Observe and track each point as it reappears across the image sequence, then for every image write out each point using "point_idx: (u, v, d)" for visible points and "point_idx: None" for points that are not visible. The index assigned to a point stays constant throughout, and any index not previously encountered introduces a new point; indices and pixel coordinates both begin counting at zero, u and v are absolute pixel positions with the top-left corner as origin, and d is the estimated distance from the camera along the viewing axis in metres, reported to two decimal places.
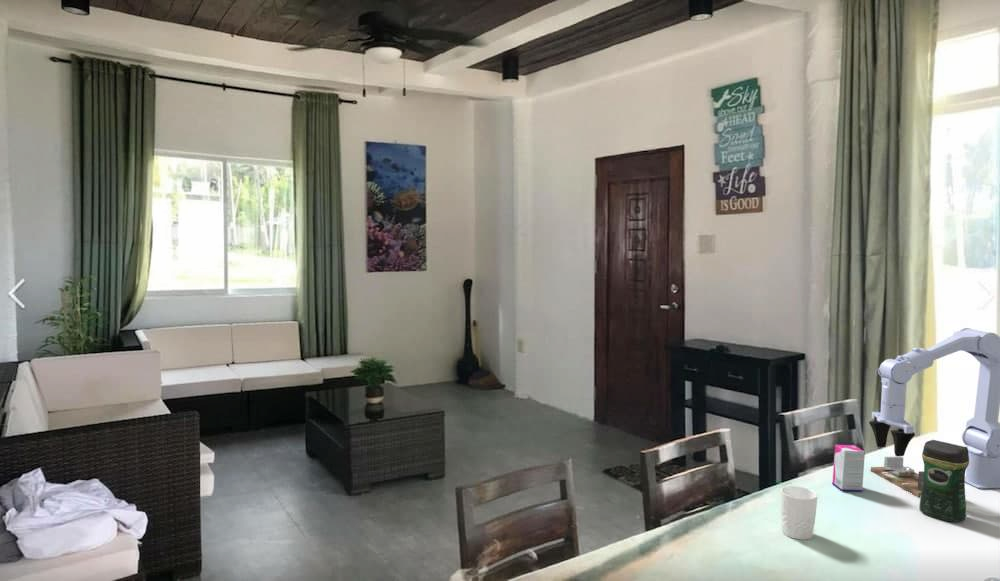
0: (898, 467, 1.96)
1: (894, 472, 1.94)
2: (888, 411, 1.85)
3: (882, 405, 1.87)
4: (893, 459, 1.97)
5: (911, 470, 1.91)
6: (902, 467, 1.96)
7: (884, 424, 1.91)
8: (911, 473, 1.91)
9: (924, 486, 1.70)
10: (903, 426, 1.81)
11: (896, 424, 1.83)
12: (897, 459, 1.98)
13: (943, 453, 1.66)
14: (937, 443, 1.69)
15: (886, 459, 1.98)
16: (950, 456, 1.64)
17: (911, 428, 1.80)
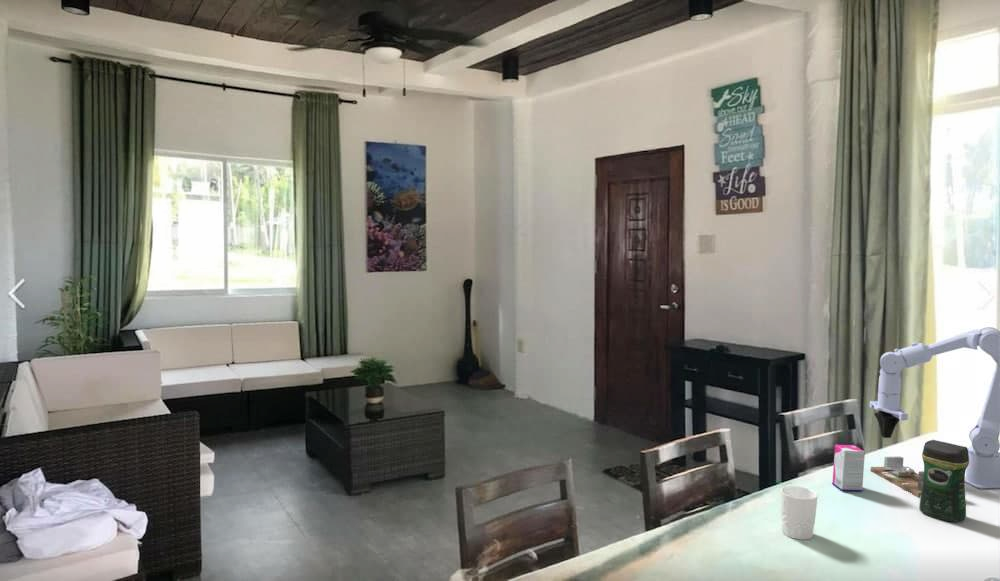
0: (898, 467, 1.96)
1: (894, 472, 1.94)
2: (885, 399, 2.00)
3: (879, 394, 2.01)
4: (893, 459, 1.97)
5: (911, 470, 1.91)
6: (902, 467, 1.96)
7: None
8: (911, 473, 1.91)
9: (924, 486, 1.70)
10: (898, 413, 1.96)
11: (892, 412, 1.97)
12: (897, 459, 1.98)
13: (943, 453, 1.66)
14: (937, 443, 1.69)
15: (886, 459, 1.98)
16: (950, 456, 1.64)
17: (905, 415, 1.95)
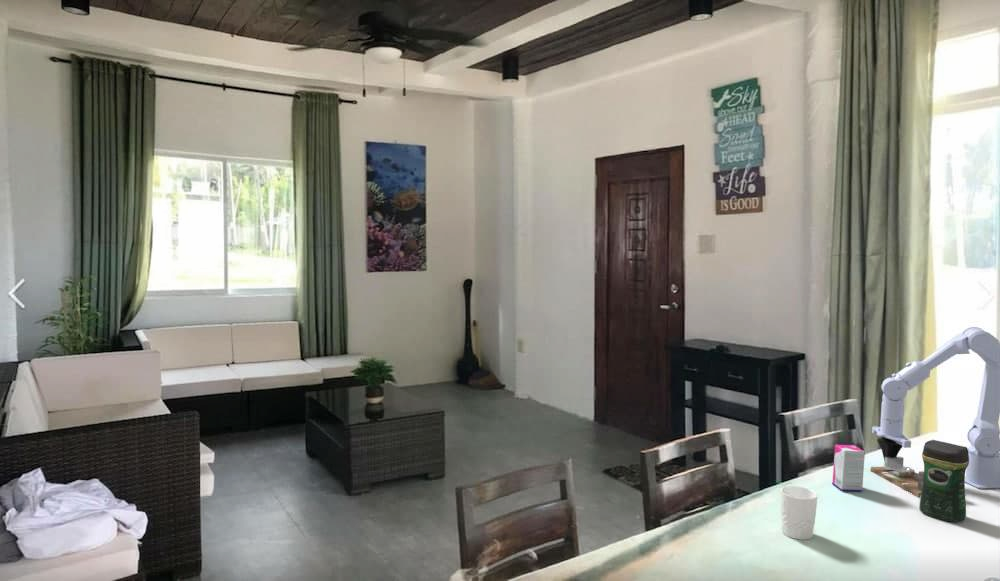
0: (898, 467, 1.96)
1: (894, 472, 1.94)
2: (887, 426, 1.97)
3: (882, 421, 1.99)
4: (893, 459, 1.97)
5: (911, 470, 1.91)
6: (902, 467, 1.96)
7: None
8: (911, 473, 1.91)
9: (924, 486, 1.70)
10: (901, 441, 1.93)
11: (895, 439, 1.95)
12: (897, 459, 1.97)
13: (943, 453, 1.66)
14: (937, 443, 1.69)
15: (886, 459, 1.97)
16: (950, 456, 1.64)
17: (909, 443, 1.92)
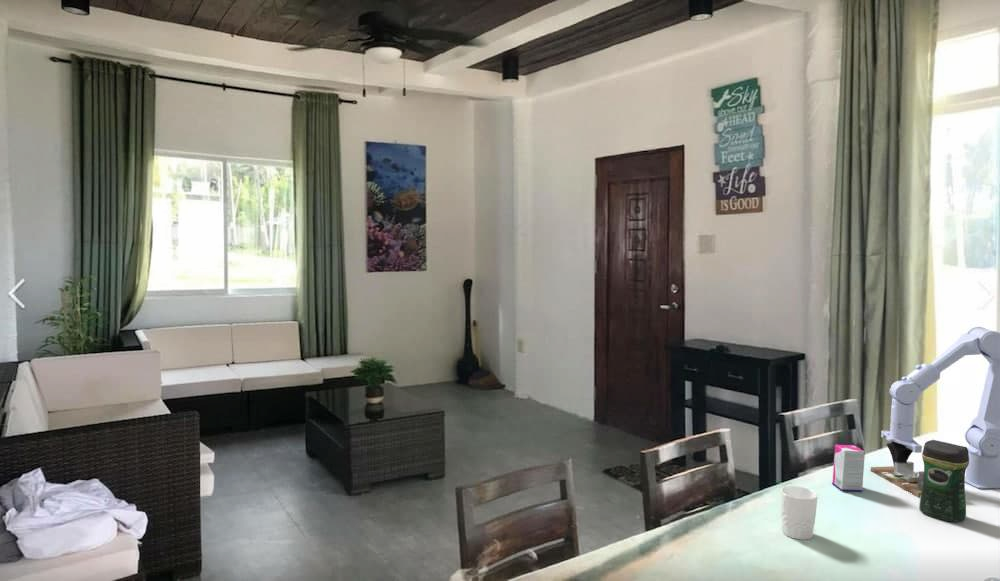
0: (908, 472, 1.92)
1: (904, 478, 1.90)
2: (897, 430, 1.93)
3: (891, 425, 1.95)
4: (903, 464, 1.93)
5: None
6: (913, 472, 1.92)
7: None
8: None
9: (924, 486, 1.70)
10: (912, 445, 1.89)
11: (905, 443, 1.91)
12: (907, 464, 1.93)
13: (943, 453, 1.66)
14: (937, 443, 1.69)
15: (896, 464, 1.93)
16: (950, 456, 1.64)
17: (919, 447, 1.88)
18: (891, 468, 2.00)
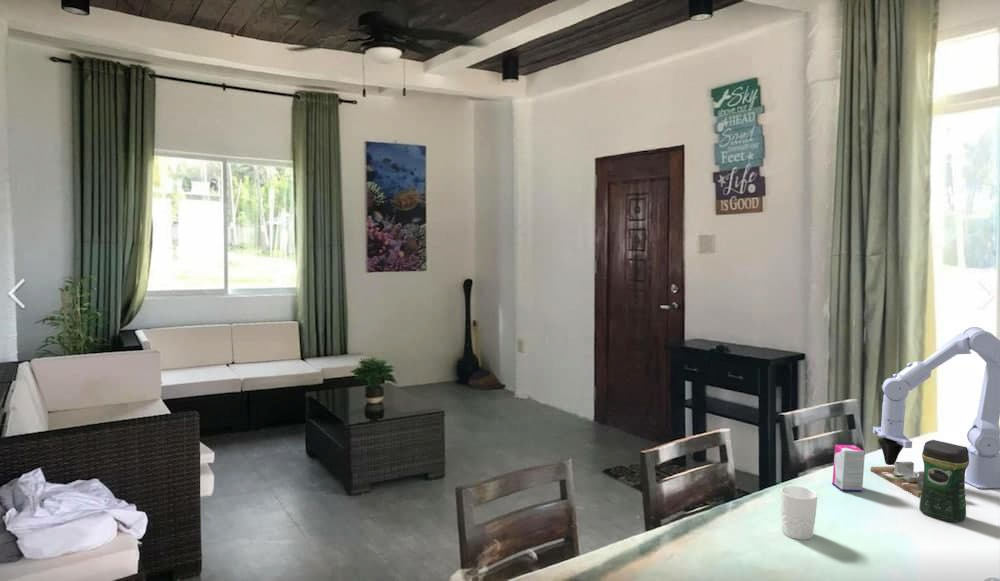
0: (908, 472, 1.92)
1: (904, 478, 1.90)
2: (888, 426, 1.97)
3: (883, 421, 1.99)
4: (903, 464, 1.93)
5: None
6: (913, 472, 1.92)
7: None
8: None
9: (924, 486, 1.70)
10: (902, 441, 1.93)
11: (896, 439, 1.95)
12: (907, 464, 1.93)
13: (943, 453, 1.66)
14: (937, 443, 1.69)
15: (896, 464, 1.93)
16: (950, 456, 1.64)
17: (910, 443, 1.92)
18: (891, 468, 2.00)
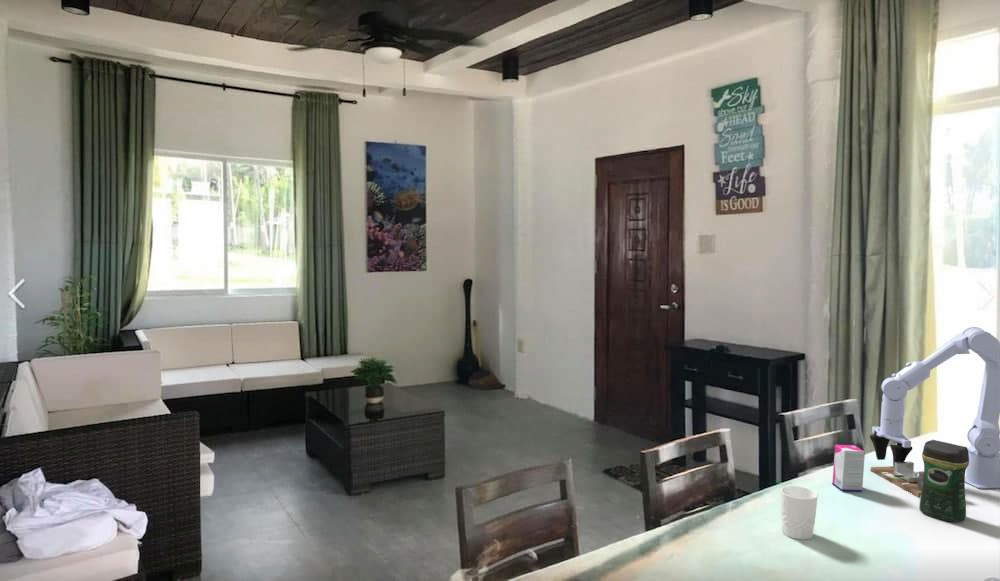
0: (908, 472, 1.92)
1: (904, 478, 1.90)
2: (887, 426, 1.97)
3: (882, 420, 1.99)
4: (903, 464, 1.93)
5: None
6: (913, 472, 1.92)
7: (883, 438, 2.03)
8: None
9: (924, 486, 1.70)
10: (901, 441, 1.93)
11: (895, 439, 1.95)
12: (907, 464, 1.93)
13: (943, 453, 1.66)
14: (937, 443, 1.69)
15: (896, 464, 1.93)
16: (950, 456, 1.64)
17: (909, 443, 1.92)
18: (891, 468, 2.00)
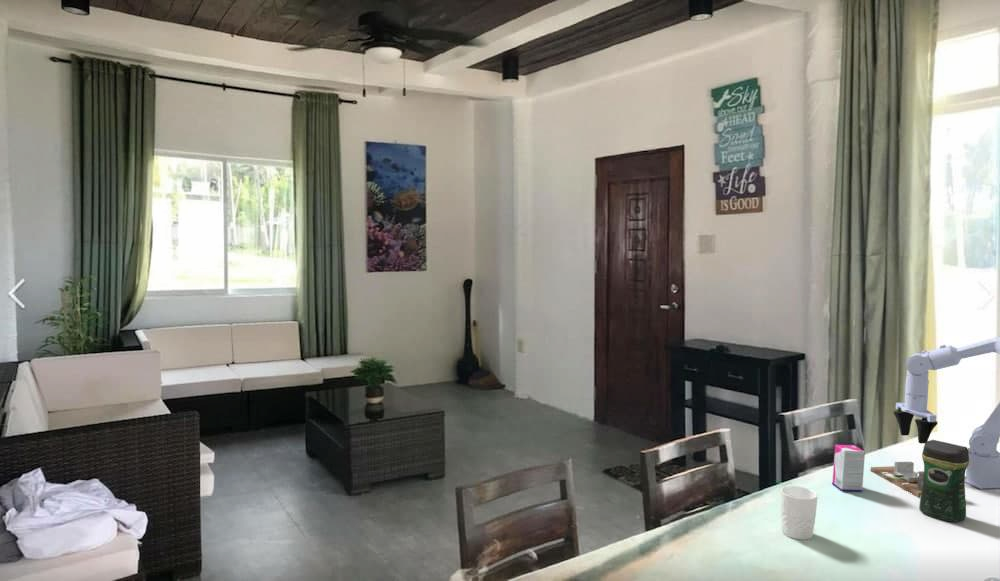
0: (908, 472, 1.92)
1: (904, 478, 1.90)
2: (912, 401, 1.98)
3: (906, 396, 2.00)
4: (903, 464, 1.93)
5: None
6: (913, 472, 1.92)
7: (908, 414, 2.04)
8: None
9: (924, 486, 1.70)
10: (926, 415, 1.94)
11: (920, 413, 1.96)
12: (907, 464, 1.93)
13: (943, 453, 1.66)
14: (937, 443, 1.69)
15: (896, 464, 1.93)
16: (950, 456, 1.64)
17: (934, 417, 1.93)
18: (891, 468, 2.00)
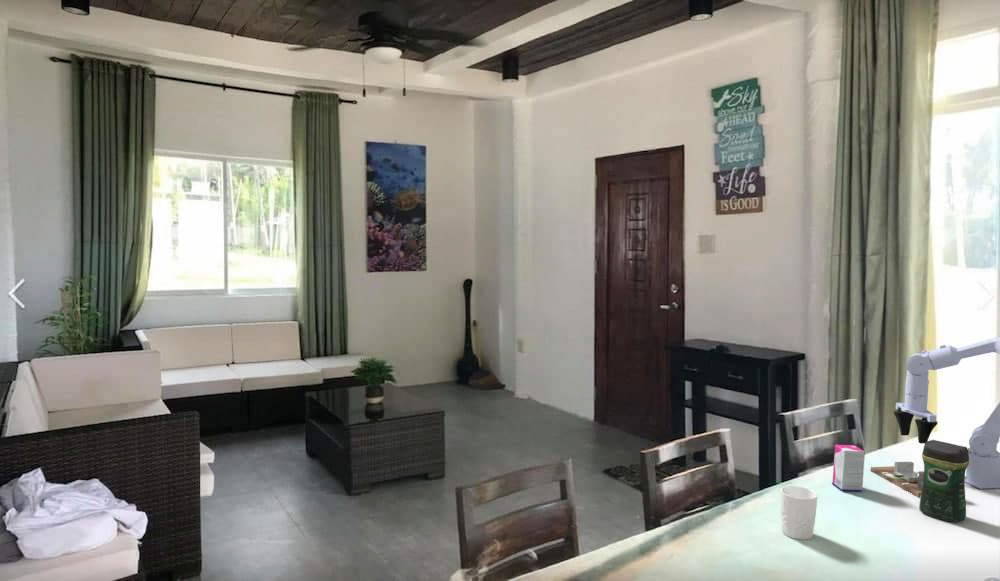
0: (908, 472, 1.92)
1: (904, 478, 1.90)
2: (912, 401, 1.98)
3: (906, 396, 2.00)
4: (903, 464, 1.93)
5: None
6: (913, 472, 1.92)
7: (908, 414, 2.04)
8: None
9: (924, 486, 1.70)
10: (926, 415, 1.94)
11: (920, 413, 1.96)
12: (907, 464, 1.93)
13: (943, 453, 1.66)
14: (937, 443, 1.69)
15: (896, 464, 1.93)
16: (950, 456, 1.64)
17: (934, 417, 1.93)
18: (891, 468, 2.00)
